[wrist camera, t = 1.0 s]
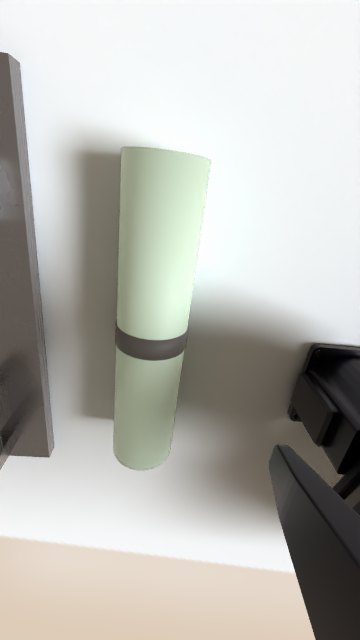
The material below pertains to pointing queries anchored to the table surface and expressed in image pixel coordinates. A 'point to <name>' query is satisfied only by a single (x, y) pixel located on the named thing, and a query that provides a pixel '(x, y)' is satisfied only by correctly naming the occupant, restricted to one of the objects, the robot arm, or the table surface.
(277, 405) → the table surface
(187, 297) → the tube
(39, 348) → the saddle plate
